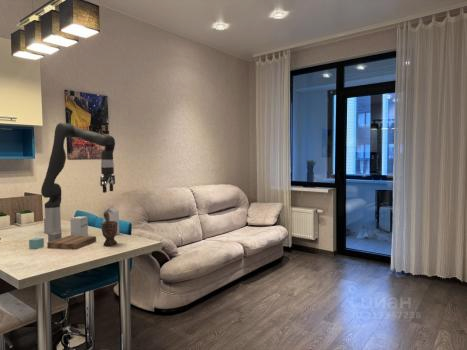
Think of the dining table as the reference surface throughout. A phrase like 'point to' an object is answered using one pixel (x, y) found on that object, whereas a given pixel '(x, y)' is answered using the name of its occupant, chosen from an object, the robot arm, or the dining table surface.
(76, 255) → the dining table surface
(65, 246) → the walnut base
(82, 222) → the supplement box
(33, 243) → the teal block
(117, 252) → the dining table surface
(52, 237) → the charcoal block
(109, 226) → the mortar and pestle
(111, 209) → the milk carton
